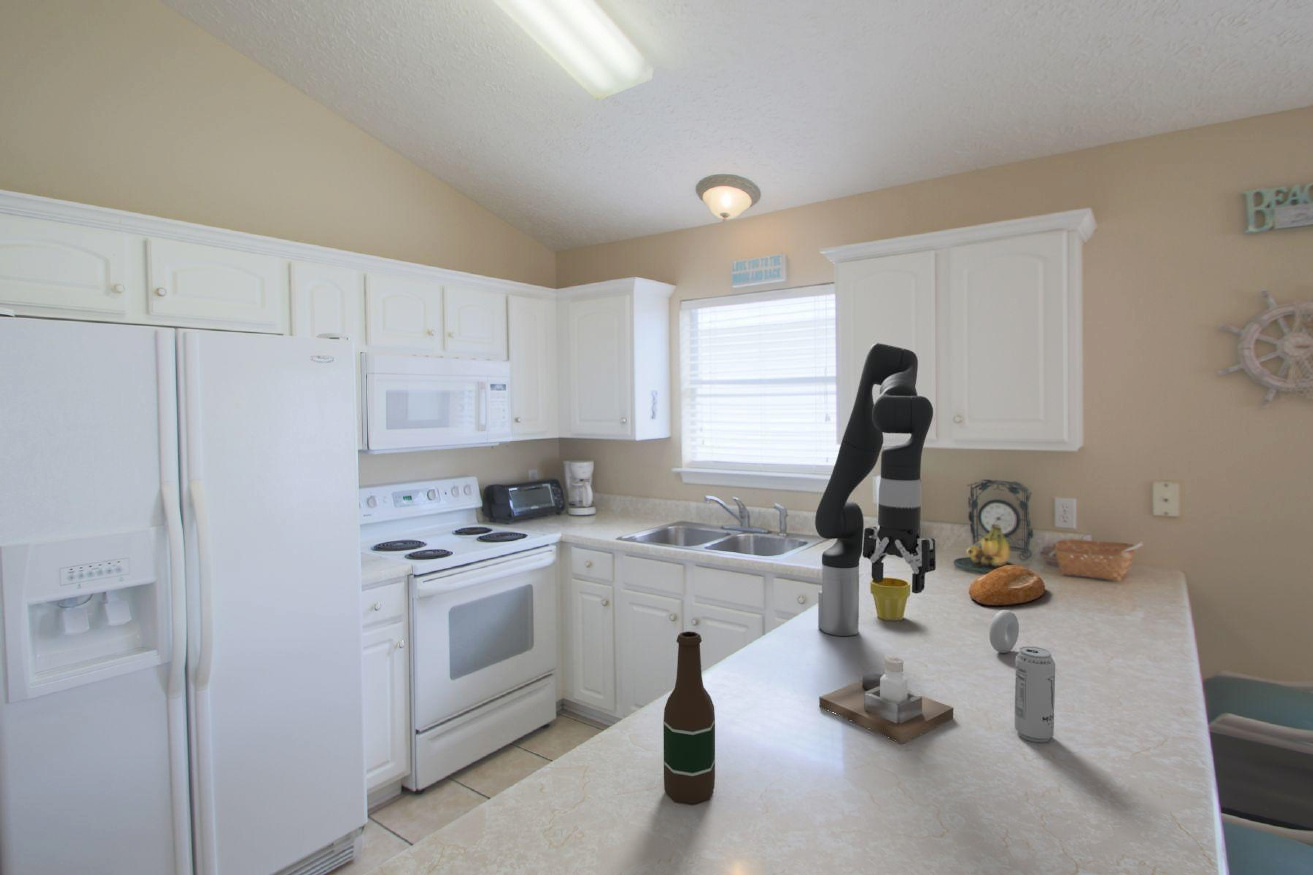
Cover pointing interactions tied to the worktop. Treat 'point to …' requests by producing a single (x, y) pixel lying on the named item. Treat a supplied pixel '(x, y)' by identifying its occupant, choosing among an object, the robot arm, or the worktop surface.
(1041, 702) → the energy drink can
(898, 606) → the plant pot
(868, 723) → the carrier board
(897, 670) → the salt shaker
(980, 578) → the bread
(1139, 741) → the worktop surface
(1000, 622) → the donut
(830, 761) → the worktop surface
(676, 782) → the beer bottle
